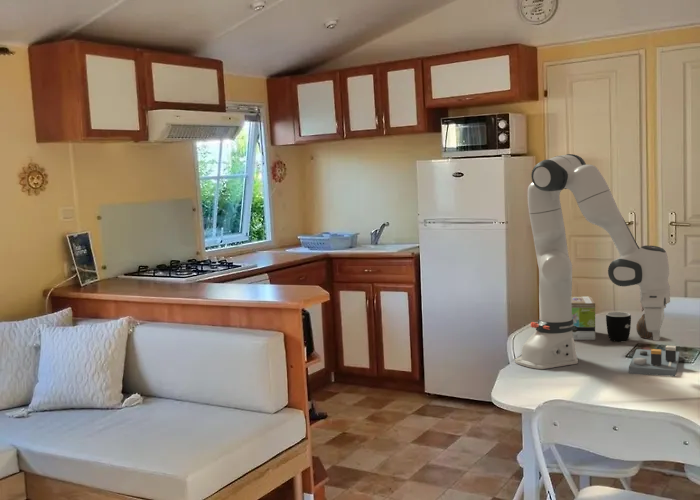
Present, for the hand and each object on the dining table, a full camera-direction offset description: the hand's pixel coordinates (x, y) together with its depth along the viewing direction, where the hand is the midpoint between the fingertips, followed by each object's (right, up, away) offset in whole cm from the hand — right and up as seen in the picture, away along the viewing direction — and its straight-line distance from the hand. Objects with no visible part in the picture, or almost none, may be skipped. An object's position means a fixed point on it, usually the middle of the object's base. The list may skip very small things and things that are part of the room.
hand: (656, 339), depth 242 cm
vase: (+17, -5, +52) cm, 54 cm away
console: (+5, -10, +13) cm, 17 cm away
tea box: (-6, -6, +59) cm, 60 cm away
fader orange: (+3, -9, +6) cm, 11 cm away
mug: (+6, -6, +50) cm, 51 cm away
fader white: (+9, -8, +10) cm, 15 cm away
